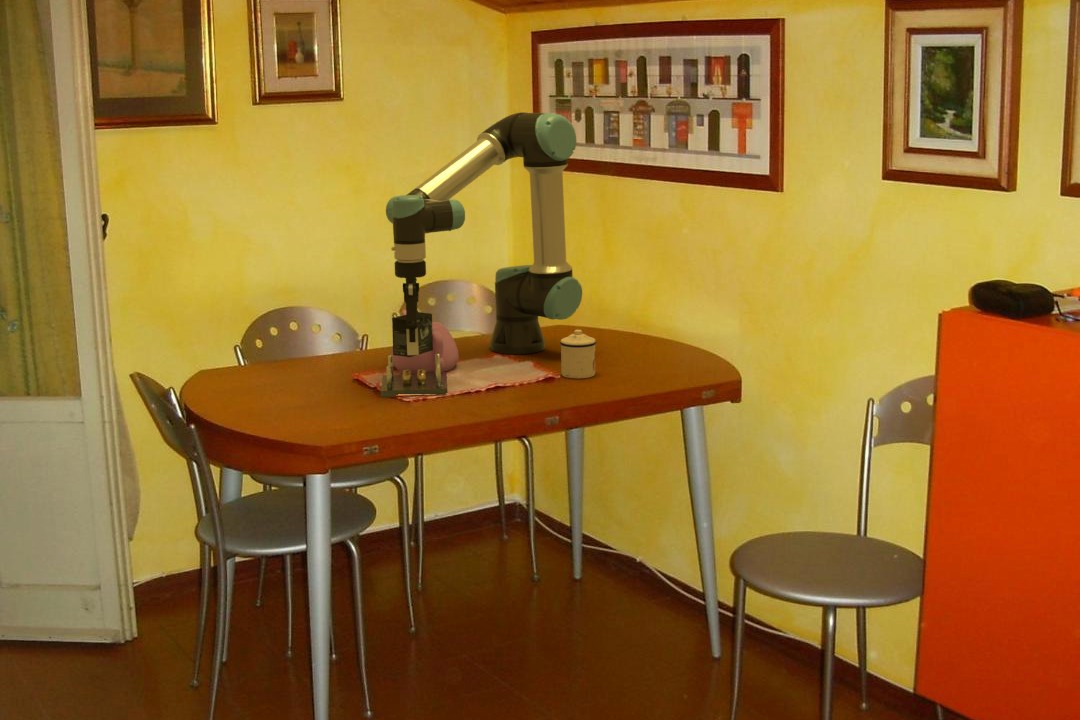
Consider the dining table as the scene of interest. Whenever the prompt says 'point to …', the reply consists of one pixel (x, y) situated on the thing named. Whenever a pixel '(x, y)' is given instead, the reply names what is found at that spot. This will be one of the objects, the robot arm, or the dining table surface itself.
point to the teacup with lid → (578, 356)
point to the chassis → (413, 381)
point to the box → (423, 334)
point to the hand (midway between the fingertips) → (413, 349)
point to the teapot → (431, 353)
